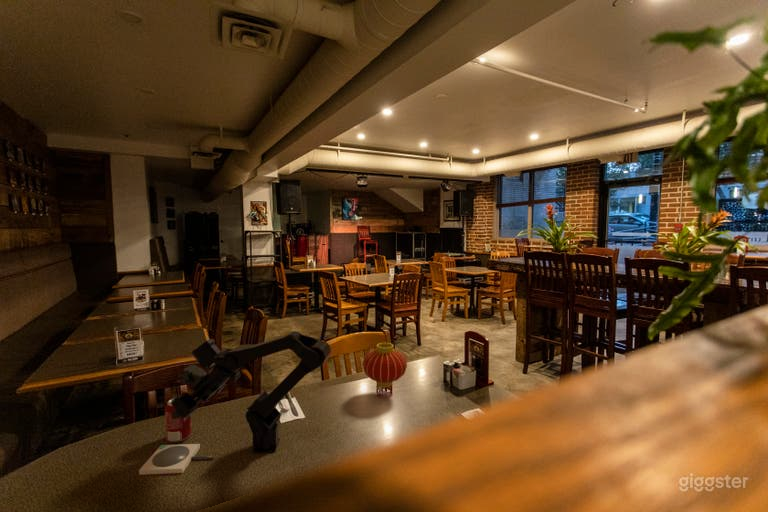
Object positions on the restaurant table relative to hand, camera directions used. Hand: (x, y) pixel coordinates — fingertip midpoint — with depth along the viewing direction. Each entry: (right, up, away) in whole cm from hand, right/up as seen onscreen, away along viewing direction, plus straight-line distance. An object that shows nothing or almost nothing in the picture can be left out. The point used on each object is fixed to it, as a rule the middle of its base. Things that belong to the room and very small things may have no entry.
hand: (183, 410), depth 112 cm
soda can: (-2, -9, +1) cm, 9 cm away
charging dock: (+5, -10, -9) cm, 15 cm away
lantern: (+62, -8, +31) cm, 70 cm away
